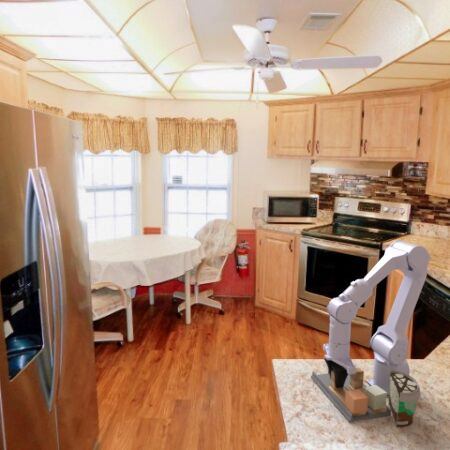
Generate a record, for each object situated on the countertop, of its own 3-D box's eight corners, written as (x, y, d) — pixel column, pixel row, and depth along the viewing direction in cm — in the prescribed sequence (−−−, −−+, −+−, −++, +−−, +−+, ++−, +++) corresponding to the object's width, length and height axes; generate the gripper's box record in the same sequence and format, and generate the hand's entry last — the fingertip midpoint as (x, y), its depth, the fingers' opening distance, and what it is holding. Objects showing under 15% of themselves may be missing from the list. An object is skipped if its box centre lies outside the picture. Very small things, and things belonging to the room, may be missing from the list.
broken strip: (360, 386, 113) (361, 367, 112) (386, 412, 102) (388, 390, 101) (347, 388, 112) (348, 368, 111) (372, 414, 101) (374, 392, 100)
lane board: (346, 372, 122) (346, 367, 122) (391, 415, 101) (391, 409, 101) (310, 377, 120) (311, 371, 119) (348, 422, 98) (349, 415, 98)
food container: (424, 434, 94) (427, 397, 93) (397, 430, 95) (400, 393, 94) (410, 404, 106) (413, 370, 105) (387, 401, 107) (389, 368, 106)
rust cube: (358, 402, 104) (359, 389, 103) (366, 411, 100) (367, 397, 99) (345, 404, 103) (345, 390, 102) (353, 414, 99) (354, 399, 98)
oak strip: (341, 388, 112) (342, 368, 111) (365, 414, 101) (366, 392, 100) (328, 390, 111) (329, 370, 110) (351, 416, 100) (352, 394, 99)
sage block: (374, 398, 106) (375, 384, 105) (385, 406, 102) (386, 392, 101) (363, 401, 104) (364, 387, 104) (374, 410, 101) (375, 395, 100)
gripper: (314, 331, 115) (312, 373, 117) (339, 353, 101) (337, 401, 103) (336, 329, 116) (333, 370, 118) (363, 351, 102) (360, 397, 104)
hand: (337, 384), depth 111 cm, fingers closed on oak strip, 2 cm apart
